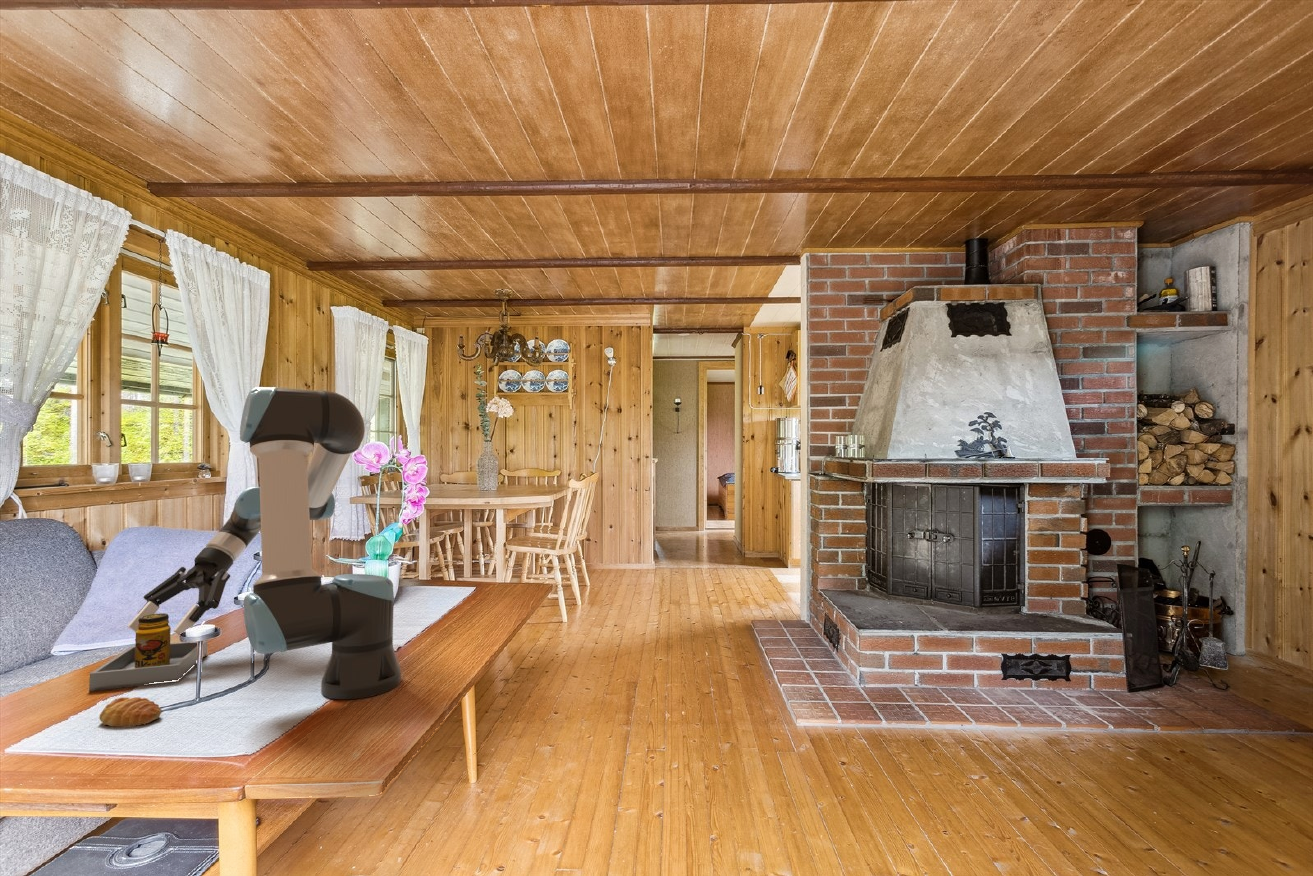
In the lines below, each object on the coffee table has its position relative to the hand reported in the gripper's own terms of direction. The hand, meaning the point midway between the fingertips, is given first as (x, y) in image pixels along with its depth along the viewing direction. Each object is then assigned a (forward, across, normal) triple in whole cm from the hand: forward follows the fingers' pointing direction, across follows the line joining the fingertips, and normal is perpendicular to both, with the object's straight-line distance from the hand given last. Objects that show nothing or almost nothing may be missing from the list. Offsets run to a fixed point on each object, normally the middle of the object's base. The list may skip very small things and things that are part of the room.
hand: (155, 631), depth 137 cm
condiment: (+6, 0, -6) cm, 8 cm away
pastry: (+21, -22, +8) cm, 31 cm away
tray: (+7, 0, -6) cm, 9 cm away
